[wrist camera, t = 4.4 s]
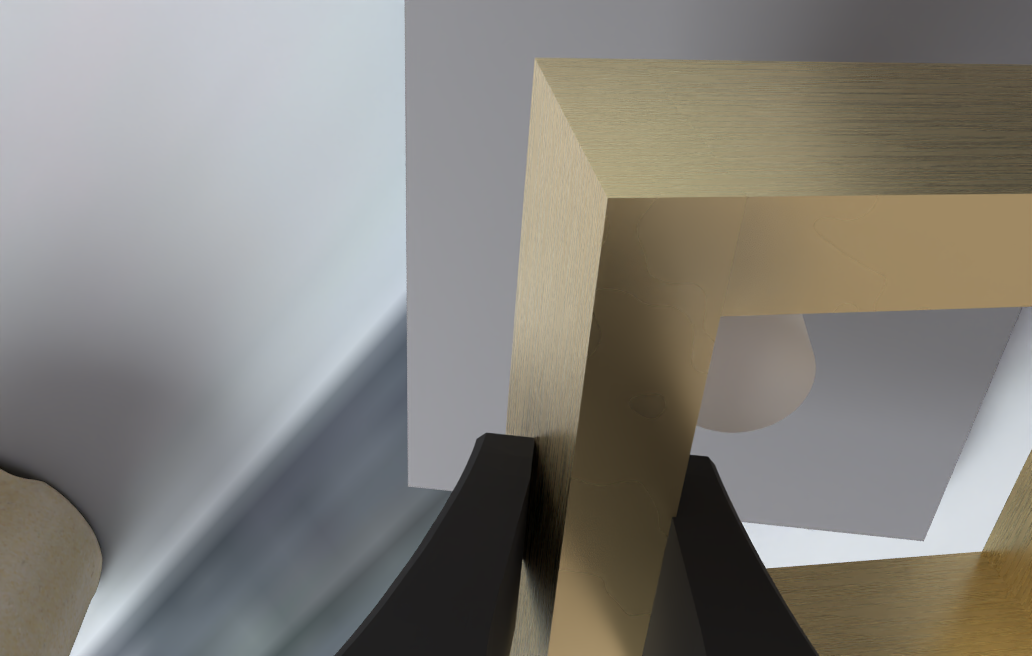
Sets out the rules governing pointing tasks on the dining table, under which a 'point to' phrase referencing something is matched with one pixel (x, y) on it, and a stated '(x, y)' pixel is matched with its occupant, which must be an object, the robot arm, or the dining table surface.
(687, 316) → the gold square frame
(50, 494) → the flower pot
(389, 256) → the dining table surface
